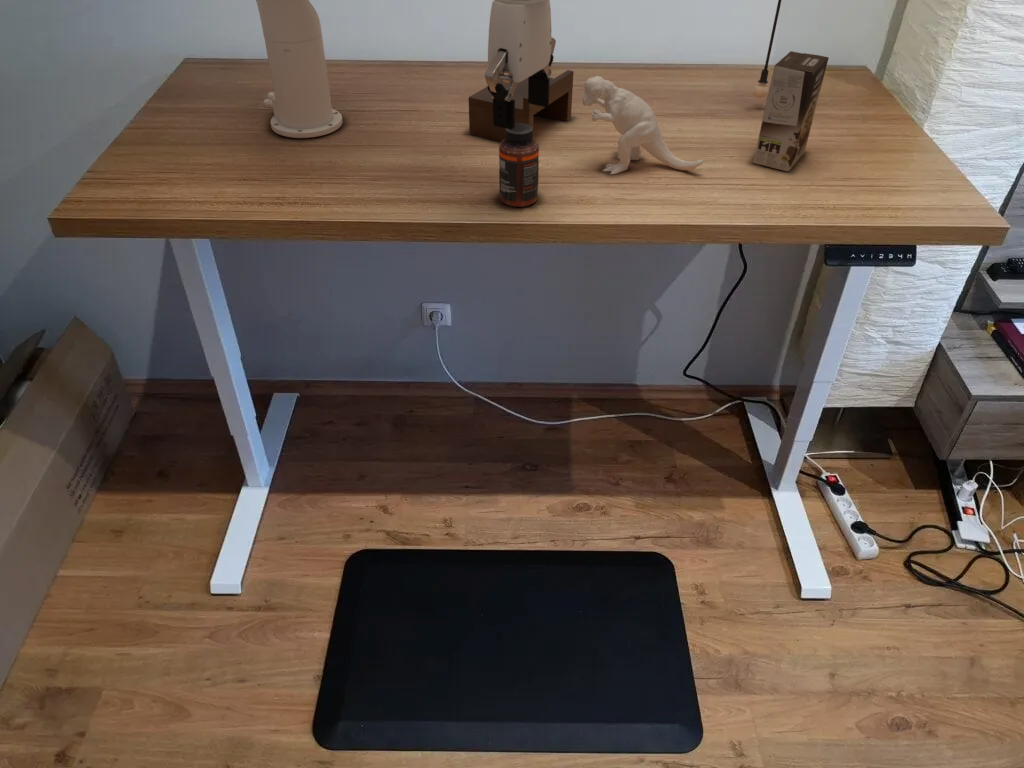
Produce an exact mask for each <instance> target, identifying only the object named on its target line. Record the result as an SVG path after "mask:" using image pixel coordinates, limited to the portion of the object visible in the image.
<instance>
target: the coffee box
mask: <svg viewBox="0 0 1024 768" xmlns="http://www.w3.org/2000/svg"><path fill="white" fill-rule="evenodd" d="M829 59H830V58H829V56H824V55H819V54H814V53H813V54H812V53H806V52H804V53H803V52H797V51H792V50H791V51H789V52H788V53H787V54H786V55H785V56H784V57H782V58H781V59H780V60H779V61H778V62H776V63H775V65H774V66H773V72H772V75H771V81H770V84H769V87H768V89H769V92H768V94H767V96H766V97H767V98H766V102H765V106H764V107H765V108H764V112H763V116H762V120H761V126H760V130H759V134H758V139H757V143H756V147H755V152H754V156H753V160H752V162H753V164H755V165H760V166H764V167H768V168H772V169H776V170H780V171H783V172H790V171H791V169H793V167H794V166H795V165H796V163H797V162H798V161H799V160H800V159H801V158H802V157H803V155H804V154H805V152H806V149H807V145H808V141H809V137H810V133H811V129H812V125H813V121H814V117H815V113H816V110H817V105H818V102H819V101H818V100H819V98H820V92H821V89H822V85H823V82H824V77H825V74H826V69H827V66H828V63H829Z"/></svg>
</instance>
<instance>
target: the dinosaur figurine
mask: <svg viewBox="0 0 1024 768" xmlns="http://www.w3.org/2000/svg"><path fill="white" fill-rule="evenodd" d="M583 89H584V92H582V95H581V101H582V105H583V106H584V107H588V106H589V107H592V106H593V105H594V104H595V105H599V106H601V107H602V108H604V110H605V112H602V111H600V110H599V109H597V108H594V110H592V113H591V116H590V118H591V120H592V122H595V123H596V122H598V121H600V120H602V121H605V122H608V123H612V124H613V127H614V128H615V130H616V131H617V132H618V134H620V135H621V136H620V137H619V139H618V142H617V146H618V147H617V155H618V156H617V157H616V159H618V160H619V161H618V162H617V163H607V164H605V167H604V168H603V169H602V172H610V173H609V174H610V175H616V174H619V173H621V172H624V171H627V170H628V168H629V165H630V163H631V161H638V160H640V157H641V155H642V149H641V148H643V149H645V151H646V152H647V153H649V154H650V155H651V156H652V157H653V158H655V159H656V160H658V161H659V162H660V163H662V164H664V165H666V166H668V167H669V168H673V169H675V170H678V171H679V170H680V171H692V170H695V169H697V168H698V167H701V166H702V165H703V163H704V160H703V159H697V160H695V161H687V160H684V159H680V158H678V157H677V156H676V155H675V154H674V153H672V152H671V150H670V148H668V146H667V144H666V142H665V140H664V138H663V135H662V132H661V128H660V127H659V123H658V119H657V117H656V114H655V112H654V111H653V109H652V107H651V106H650V105H649V104H648V103H647V102H646V101H645V100H644V99H642V98H641V97H639V96H638V95H635V93H633V92H631V91H629V90H628V89H624V88H622V87H619V86H617V85H615V84H614V83H613V82H612V81H611V80H608V79H604V78H603V77H602V76H600V75H596V76H593V77H589V78H588V79H587V80H585V82H584V85H583ZM602 99H603V100H602Z"/></svg>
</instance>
